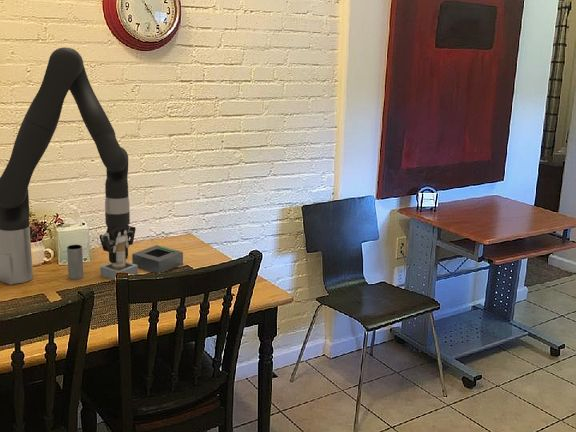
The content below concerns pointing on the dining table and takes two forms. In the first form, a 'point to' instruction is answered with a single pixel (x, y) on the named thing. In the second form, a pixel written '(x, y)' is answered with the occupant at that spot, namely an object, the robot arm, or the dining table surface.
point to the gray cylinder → (75, 262)
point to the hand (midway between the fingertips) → (118, 260)
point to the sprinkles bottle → (120, 254)
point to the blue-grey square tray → (111, 273)
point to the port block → (157, 259)
